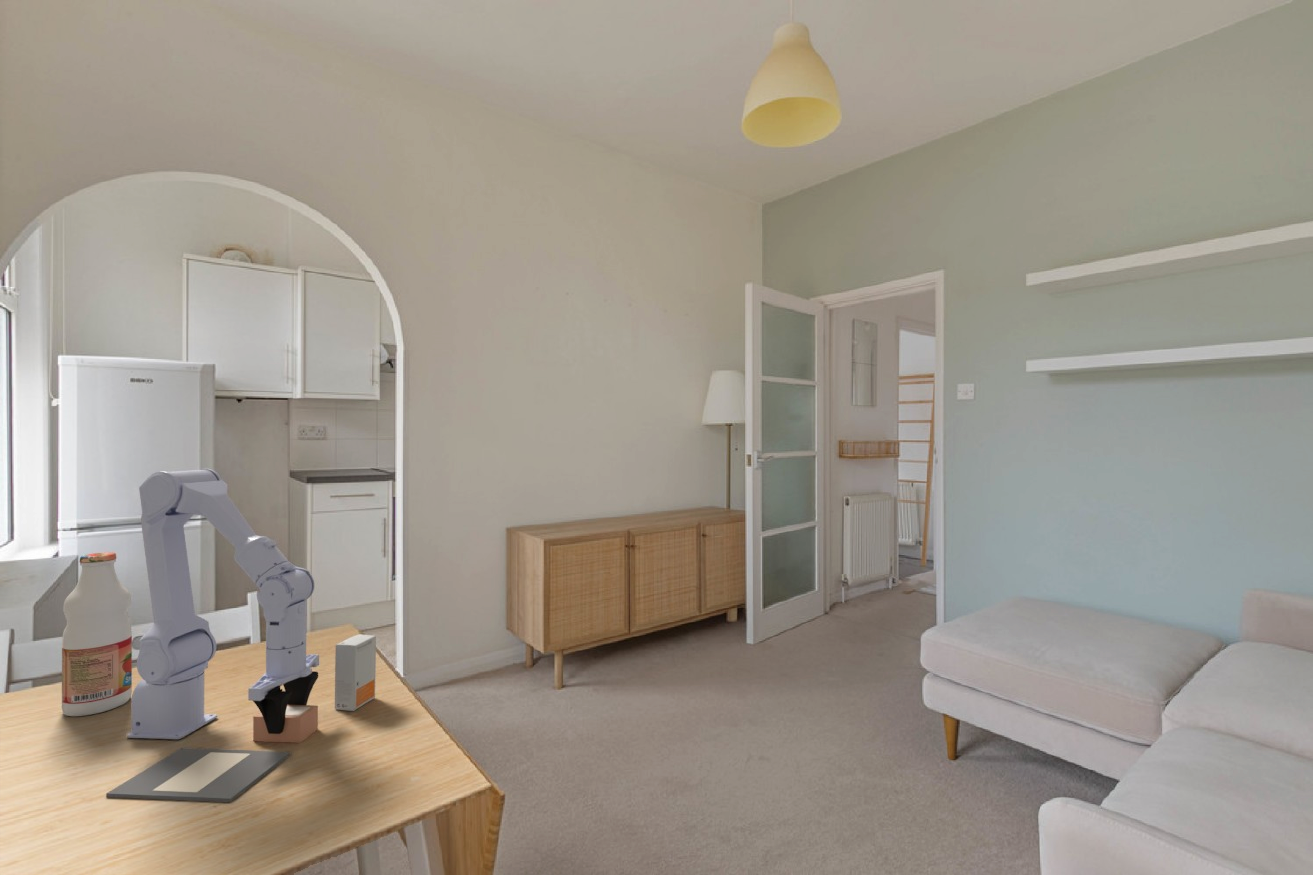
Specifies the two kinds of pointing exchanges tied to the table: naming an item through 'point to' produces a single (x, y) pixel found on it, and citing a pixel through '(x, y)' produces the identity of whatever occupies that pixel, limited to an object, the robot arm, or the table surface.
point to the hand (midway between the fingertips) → (286, 725)
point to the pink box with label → (289, 725)
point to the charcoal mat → (201, 775)
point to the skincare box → (355, 672)
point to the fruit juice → (96, 640)
